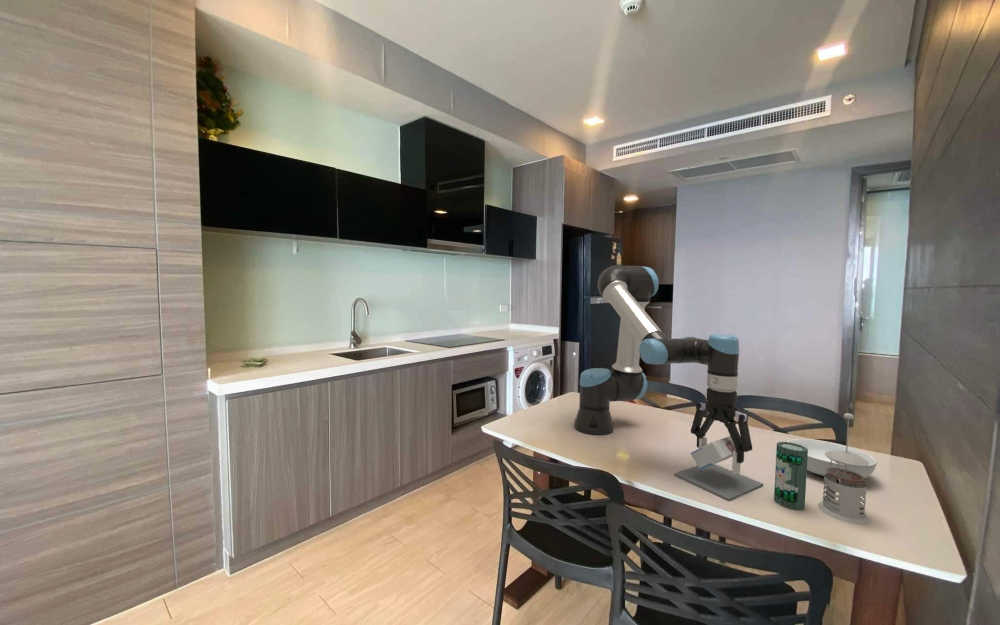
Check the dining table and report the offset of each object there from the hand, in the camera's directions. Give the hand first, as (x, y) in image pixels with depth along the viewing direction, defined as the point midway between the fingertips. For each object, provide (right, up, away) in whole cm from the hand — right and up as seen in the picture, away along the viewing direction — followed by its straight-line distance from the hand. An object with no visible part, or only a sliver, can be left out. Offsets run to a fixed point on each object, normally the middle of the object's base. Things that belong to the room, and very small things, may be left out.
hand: (718, 466), depth 110 cm
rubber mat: (0, -4, 0) cm, 4 cm away
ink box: (-6, +4, -4) cm, 8 cm away
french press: (+23, -6, -14) cm, 27 cm away
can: (+12, -5, -11) cm, 17 cm away
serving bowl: (+37, -5, +7) cm, 38 cm away
